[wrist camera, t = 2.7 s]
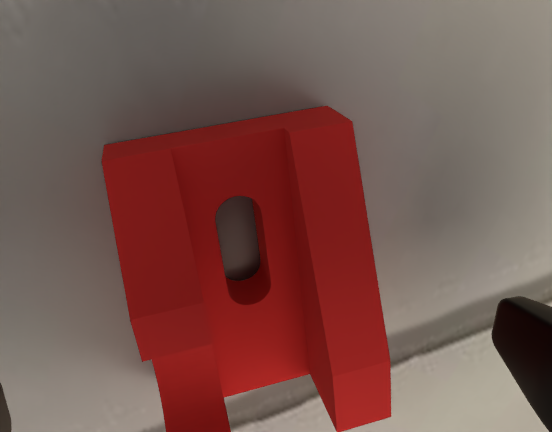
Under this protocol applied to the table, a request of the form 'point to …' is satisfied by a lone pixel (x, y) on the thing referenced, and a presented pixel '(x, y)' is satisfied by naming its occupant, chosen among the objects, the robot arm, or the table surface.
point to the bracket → (270, 276)
